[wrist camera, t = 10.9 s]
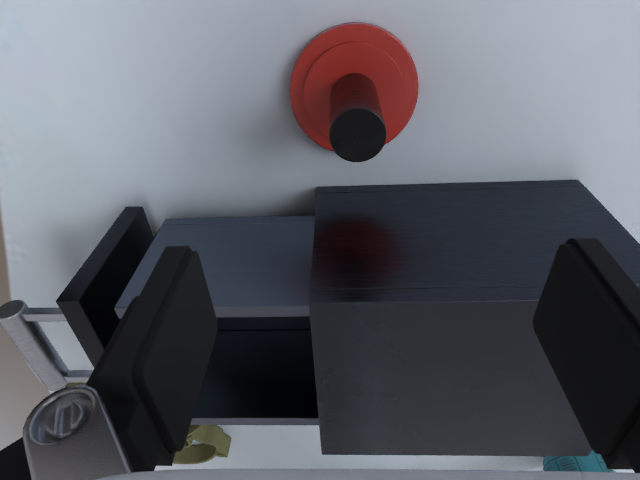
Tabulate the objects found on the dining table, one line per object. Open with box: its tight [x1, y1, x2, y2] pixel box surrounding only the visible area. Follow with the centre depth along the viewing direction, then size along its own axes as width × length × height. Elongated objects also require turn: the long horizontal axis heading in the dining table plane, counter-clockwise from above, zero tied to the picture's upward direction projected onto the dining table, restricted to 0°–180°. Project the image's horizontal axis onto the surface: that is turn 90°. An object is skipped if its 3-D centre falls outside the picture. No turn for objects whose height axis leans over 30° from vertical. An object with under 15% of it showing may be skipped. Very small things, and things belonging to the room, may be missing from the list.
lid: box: [290, 22, 418, 162], centre depth 22 cm, size 7×7×6 cm
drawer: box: [0, 207, 319, 425], centre depth 28 cm, size 22×13×9 cm, turn 93°
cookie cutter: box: [66, 382, 231, 464], centre depth 44 cm, size 18×12×2 cm, turn 78°
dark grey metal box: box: [309, 180, 640, 456], centre depth 27 cm, size 17×14×11 cm
